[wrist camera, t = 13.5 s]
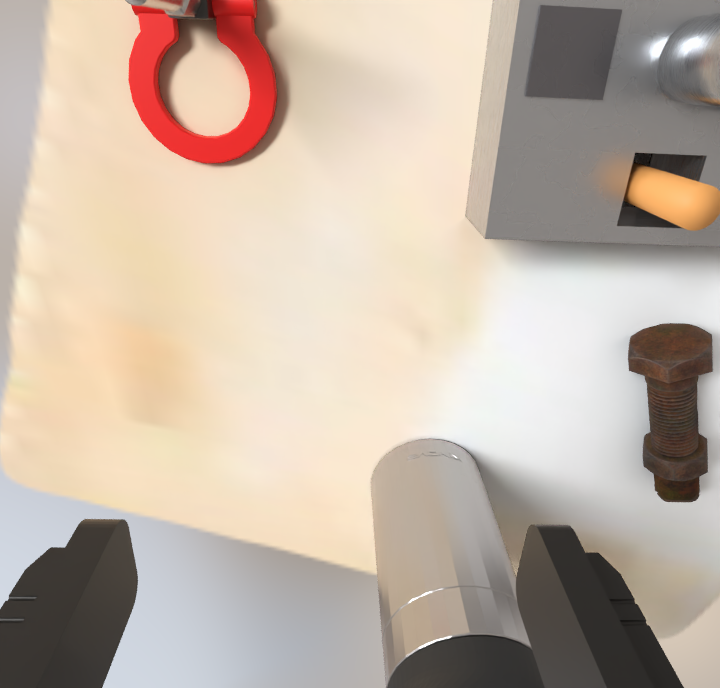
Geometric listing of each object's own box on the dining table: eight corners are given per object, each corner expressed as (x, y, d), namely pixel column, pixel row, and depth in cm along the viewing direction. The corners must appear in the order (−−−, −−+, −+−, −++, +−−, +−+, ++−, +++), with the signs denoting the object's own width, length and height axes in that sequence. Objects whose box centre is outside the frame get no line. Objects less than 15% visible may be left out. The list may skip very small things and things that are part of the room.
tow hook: (281, 161, 35) (273, -12, 31) (251, 219, 24) (231, -41, 19) (147, 158, 35) (119, -16, 30) (53, 216, 24) (-15, -48, 19)
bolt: (645, 465, 49) (632, 320, 42) (712, 471, 46) (711, 318, 39) (640, 515, 45) (625, 365, 38) (714, 525, 42) (712, 365, 35)
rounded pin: (630, 156, 35) (729, 185, 26) (622, 191, 36) (714, 230, 27) (596, 156, 35) (683, 184, 26) (589, 191, 36) (671, 230, 27)
